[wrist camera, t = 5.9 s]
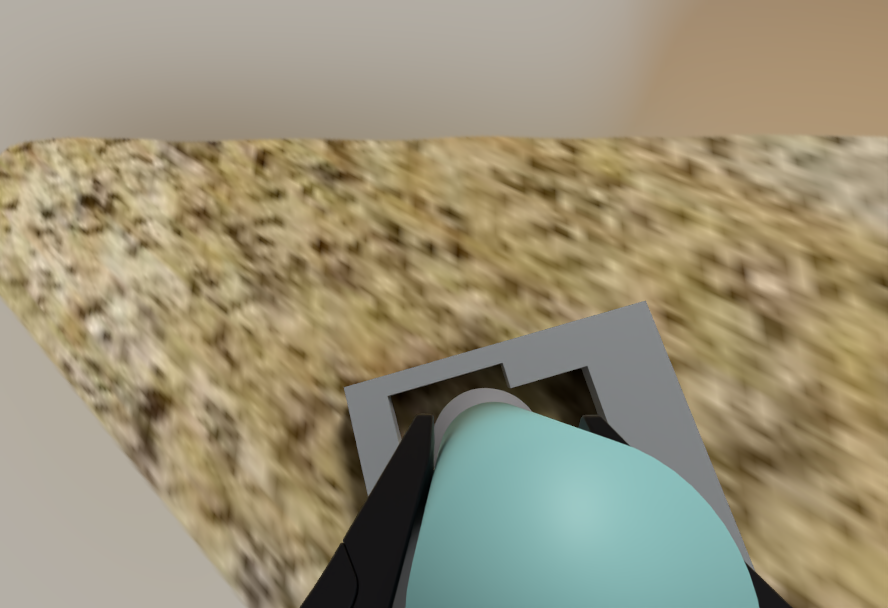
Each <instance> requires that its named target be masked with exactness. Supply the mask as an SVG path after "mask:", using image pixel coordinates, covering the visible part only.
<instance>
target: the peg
mask: <svg viewBox="0 0 888 608" xmlns="http://www.w3.org/2000/svg"><path fill="white" fill-rule="evenodd" d="M434 435H435V444H434V468H435V469H434V473H433V477H432V481H431V486H430V490H429V494H428V498H427V503H426V507H425V511H424V515H423V520H422V524H421V528H420V532H419V537H418V541H417V545H416V549H415V554H414V558H413V562H412V567H411V572H410V577H409V582H408V587H407V594H406V607H405V608H759V604H758V599H757V596H756V592H755V589H754V586H753V583H752V580H751V577H750V574H749V571H748V569H747V567H746V564H745V562H744V560H743V558H742V555H741V553H740V551H739V549H738V547H737V545H736V543H735V542H734V540H733V538H732V537H731V535H730V533H729V531H728V530H727V528H726V526H725V525H724V523H723V522H722V521H721V519H720V518H719V517H718V515H717V514H716V513H715V511H714V510H713V509H712V507H711V506H710V505H709V504H708V503H707V502H706V500H705V499H704V498H703V497H702V496H701V495H700V494H699V493H698V492H697V491H696V490H695V489H694V488H693V487H692V486H691V485H690V484H689V483H688V482H686V481H685V480H684V479H683V478H682V477H681V476H679V475H678V474H677V473H676V472H675V471H673V470H672V469H670V468H669V467H667V466H666V465H664V464H663V463H661V462H660V461H658V460H657V459H655V458H653V457H651V456H649V455H648V454H646V453H644V452H642V451H640V450H638V449H636V448H633V447H630V446H628V445H625V444H622V443H619V442H616V441H614V440H611V439H608V438H605V437H602V436H599V435H596V434H594V433H591V432H588V431H585V430H582V429H579V428H576V427H574V426H571V425H568V424H565V423H562V422H559V421H557V420H554V419H551V418H548V417H545V416H542V415H539V414H537V413H534V412H532V411H531V410H530V408H529V407H528V406H527V405H526V404H525V403H524V402H522V401H521V400H520V399H518V398H517V397H515V396H514V395H512V394H510V393H508V392H505V391H502V390H498V389H492V388H478V389H472V390H469V391H466V392H464V393H462V394H460V395H458V396H457V397H455V398H454V399H452V400H451V401H450V402H449V403H448V404H447V405H446V406H445V407H444V409H443V410H442V412H441V413H440V415H439V417H438V419H437V421H436V423H435V426H434Z"/></svg>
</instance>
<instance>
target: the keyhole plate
mask: <svg viewBox="0 0 888 608" xmlns="http://www.w3.org/2000/svg"><path fill="white" fill-rule="evenodd" d="M499 364H501V367H502V371H503V374H504V377H505V380H506V383H507V387H508V388H513V387H516V386H520V385H523V384H527V383H530V382H534V381H537V380H540V379H544V378H547V377H551V376H554V375H558V374H561V373H564V372H568V371H571V370H575V369H578V368H581V369H582V371H583V374H584V377H585V380H586V383H587V385H588V388H589V391H590V394H591V397H592V400H593V402H594V405H595V408H596V411H597V414H598V415H599V416H601V417H602V418H603V419H604V420H605V421H606V422H607V423H608V424H609V425H610V426H611V427H612V428H613V429H614V430H615V431H616V432H617V433H618V434H619V435H620V436H621V437H622V438H623V439H624V440H625V441H626V442H627V443H628V444H629V445H630V446H631V447H633V448H636V449H638V450H640V451H642V452H644V453H646V454H648V455H649V456H651V457H653V458H655V459H657V460H658V461H660V462H661V463H663V464H664V465H666V466H667V467H669V468H670V469H672V470H673V471H675V472H676V473H677V474H678V475H679V476H681V477H682V478H683V479H684V480H685V481H686V482H688V483H689V484H690V485H691V486H692V487H693V488H694V489H695V490H696V491H697V492H698V493H699V494H700V495H701V496H702V497H703V498H704V499H705V500H706V502H707V503H708V504H709V505H710V506H711V507H712V509H713V510H714V511H715V513H716V514H717V515H718V517H719V518H720V519H721V521H722V522H723V523H724V525H725V526H726V528H727V530H728V531H729V533H730V535H731V537H732V538H733V540H734V542H735V543H736V545H737V547H738V549H739V551H740V553H741V555H742V558H743V560H744V561H745V562H746V563H747V564H748V565H749V566H750V567H751V568H752V569H753V570H754V571H755V569H754V567H753V565H752V562H751V560H750V557H749V555H748V552H747V550H746V547H745V545H744V542H743V540H742V537H741V535H740V532H739V530H738V527H737V525H736V523H735V520H734V518H733V515H732V513H731V510H730V508H729V505H728V503H727V500H726V498H725V495H724V493H723V490H722V488H721V486H720V483H719V481H718V478H717V476H716V473H715V471H714V468H713V466H712V463H711V461H710V458H709V456H708V453H707V451H706V448H705V446H704V444H703V441H702V439H701V436H700V434H699V431H698V429H697V426H696V424H695V421H694V419H693V416H692V414H691V411H690V409H689V407H688V404H687V402H686V399H685V397H684V394H683V392H682V389H681V387H680V384H679V382H678V379H677V377H676V374H675V372H674V369H673V367H672V365H671V362H670V360H669V357H668V355H667V352H666V350H665V347H664V345H663V342H662V340H661V337H660V335H659V332H658V330H657V328H656V325H655V323H654V320H653V318H652V315H651V313H650V310H649V308H648V305H647V303H646V301H643V302H639V303H636V304H632V305H629V306H625V307H622V308H619V309H615V310H612V311H608V312H605V313H601V314H598V315H594V316H591V317H587V318H584V319H580V320H577V321H573V322H570V323H566V324H563V325H559V326H556V327H552V328H549V329H546V330H542V331H539V332H535V333H532V334H528V335H525V336H521V337H518V338H514V339H511V340H507V341H504V342H500V343H497V344H493V345H490V346H486V347H483V348H479V349H476V350H472V351H469V352H466V353H462V354H459V355H455V356H452V357H448V358H445V359H441V360H438V361H434V362H431V363H427V364H424V365H420V366H417V367H413V368H410V369H406V370H403V371H399V372H396V373H393V374H389V375H386V376H382V377H379V378H375V379H372V380H368V381H365V382H361V383H358V384H354V385H351V386H347V387H344V390H345V395H346V399H347V404H348V408H349V413H350V417H351V422H352V426H353V431H354V435H355V440H356V444H357V449H358V453H359V458H360V462H361V466H362V471H363V475H364V480H365V484H366V489H367V493H368V496H369V494H370V493H371V491H372V489H373V488H374V486H375V484H376V482H377V481H378V479H379V477H380V476H381V474H382V472H383V471H384V469H385V467H386V465H387V464H388V462H389V460H390V459H391V457H392V455H393V454H394V452H395V450H396V448H397V447H398V445H399V443H400V442H401V435H400V431H399V427H398V423H397V419H396V415H395V411H394V407H393V403H392V399H391V396H392V395H395V394H399V393H402V392H406V391H409V390H413V389H416V388H420V387H423V386H427V385H430V384H433V383H437V382H440V381H444V380H447V379H451V378H454V377H458V376H461V375H465V374H468V373H471V372H475V371H478V370H482V369H485V368H489V367H492V366H496V365H499Z"/></svg>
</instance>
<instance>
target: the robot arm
mask: <svg viewBox="0 0 888 608" xmlns="http://www.w3.org/2000/svg"><path fill="white" fill-rule="evenodd" d="M578 428H579V429H582V430H585V431H588V432H591V433H594V434H596V435H599V436H602V437H605V438H608V439H611V440H614V441H616V442H619V443H622V444H625V445H628V446H630V445H629V444H628V443H627V442H626V441H625V440H624V439H623V438H622V437H621V436H620V435H619V434H618V433H617V432H616V431H615V430H614V429H613V428H612V427H611V426H610V425H609V424H608V423H607V422H606V421H605V420H604V419H603V418H602V417H601V416H599V415H583V416H582V417H581V420H580V424H579V427H578ZM434 444H435V435H434V416H433V415H432V414H417V415H416V416H415V418H414V420H413V421H412V423H411V425H410V426H409V428H408V430H407V431H406V433H405V435H404V437H403V438H402V440H401V442H400V443H399V445H398V447H397V448H396V450H395V452H394V454H393V455H392V457H391V459H390V460H389V462H388V464H387V465H386V467H385V469H384V471H383V472H382V474H381V476H380V477H379V479H378V481H377V482H376V484H375V486H374V488H373V489H372V491H371V493H370V494H369V496H368V498H367V499H366V501H365V503H364V505H363V506H362V508H361V510H360V511H359V513H358V515H357V516H356V518H355V520H354V522H353V523H352V525H351V527H350V528H349V530H348V532H347V533H346V535H345V537H344V539H343V543H341V544H340V545H339V547H338V548H337V550H336V552H335V554H334V555H333V557H332V559H331V560H330V562H329V564H328V565H327V567H326V568H325V570H324V572H323V573H322V575H321V576H320V578H319V580H318V581H317V583H316V584H315V586H314V588H313V589H312V590H311V592H310V593H309V595H308V596H307V598H306V599H305V601H304V602H303V603H302V605H301V606H300V608H405V607H406V594H407V587H408V582H409V577H410V572H411V567H412V562H413V558H414V554H415V549H416V545H417V541H418V537H419V532H420V528H421V524H422V520H423V515H424V511H425V507H426V503H427V498H428V494H429V490H430V486H431V481H432V477H433V473H434ZM630 447H631V446H630ZM744 562H745V561H744ZM745 564H746V567H747V569H748V571H749V574H750V577H751V580H752V583H753V586H754V589H755V592H756V596H757V599H758V604H759V608H793V607H792V606H791V605H790V604H788V603H787V602H786V601H785V600H784V599H783V598H782V597H781V596H780V595H779V594H778V593H777V592H776V591H775V590H774V589H773V588H771V587H770V586H769V585H768V584H767V583H766V582H765V581H764V580H763V579H762V578H761V577H760V576H759V575H758V574H757V573H756V572H755V571H754V570H753V569H752V568H751V567H750V566H749V565H748V564H747V563H746V562H745Z"/></svg>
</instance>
